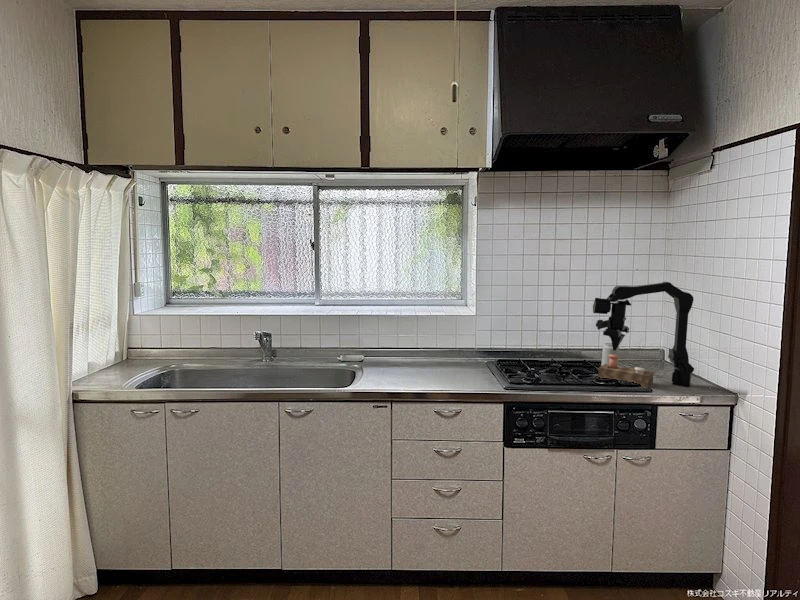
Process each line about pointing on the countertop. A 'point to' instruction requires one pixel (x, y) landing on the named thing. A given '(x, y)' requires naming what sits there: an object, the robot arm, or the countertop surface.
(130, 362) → the countertop surface
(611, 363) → the brick plug
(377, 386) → the countertop surface
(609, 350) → the can
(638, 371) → the cream plug
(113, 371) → the countertop surface
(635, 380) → the socket board
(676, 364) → the robot arm
